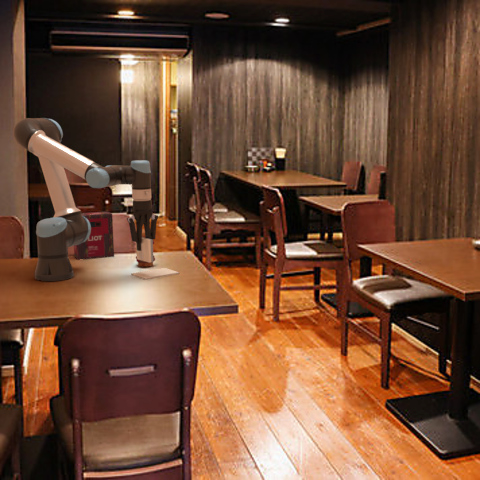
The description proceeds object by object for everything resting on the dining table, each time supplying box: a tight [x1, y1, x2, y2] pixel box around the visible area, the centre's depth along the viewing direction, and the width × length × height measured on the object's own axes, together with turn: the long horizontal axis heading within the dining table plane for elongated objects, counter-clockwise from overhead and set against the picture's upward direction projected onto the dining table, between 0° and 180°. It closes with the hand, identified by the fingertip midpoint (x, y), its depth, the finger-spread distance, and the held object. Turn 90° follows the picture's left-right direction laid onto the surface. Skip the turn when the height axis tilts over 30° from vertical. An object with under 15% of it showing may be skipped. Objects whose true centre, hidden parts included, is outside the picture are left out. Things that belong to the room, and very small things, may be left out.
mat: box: [130, 267, 180, 281], centre depth 271 cm, size 11×16×1 cm
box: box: [73, 211, 115, 261], centre depth 305 cm, size 16×9×20 cm, turn 115°
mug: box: [135, 228, 156, 268], centre depth 287 cm, size 15×8×15 cm, turn 14°
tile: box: [135, 237, 155, 263], centre depth 265 cm, size 10×2×9 cm, turn 38°
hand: (144, 257), depth 266 cm, fingers closed on tile, 2 cm apart
